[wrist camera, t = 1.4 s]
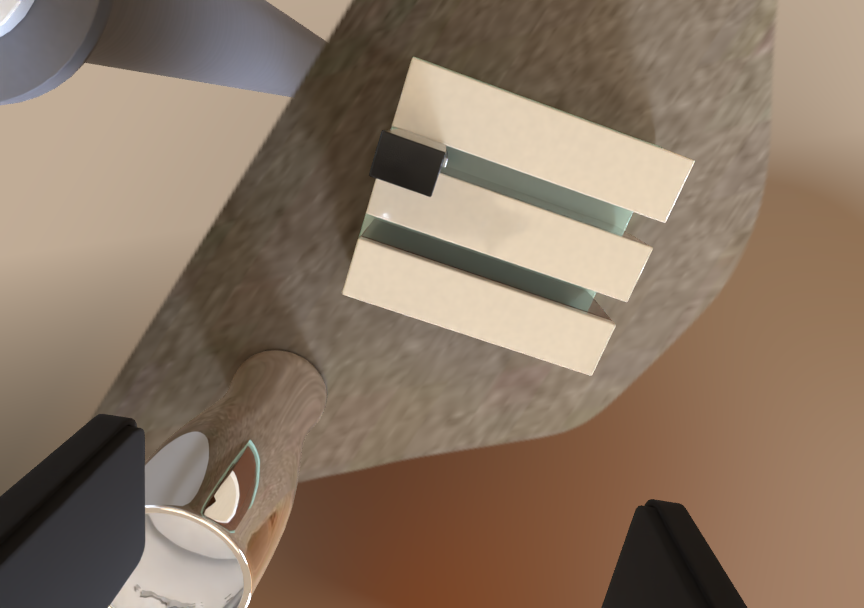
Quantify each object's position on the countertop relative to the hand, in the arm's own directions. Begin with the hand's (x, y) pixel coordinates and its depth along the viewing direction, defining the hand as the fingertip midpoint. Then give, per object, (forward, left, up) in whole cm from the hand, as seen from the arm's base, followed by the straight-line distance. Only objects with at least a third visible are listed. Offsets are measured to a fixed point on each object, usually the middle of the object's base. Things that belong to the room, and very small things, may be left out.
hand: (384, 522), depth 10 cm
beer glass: (-6, -12, -23) cm, 26 cm away
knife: (-2, +6, -22) cm, 23 cm away
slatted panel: (+3, +4, -23) cm, 23 cm away
